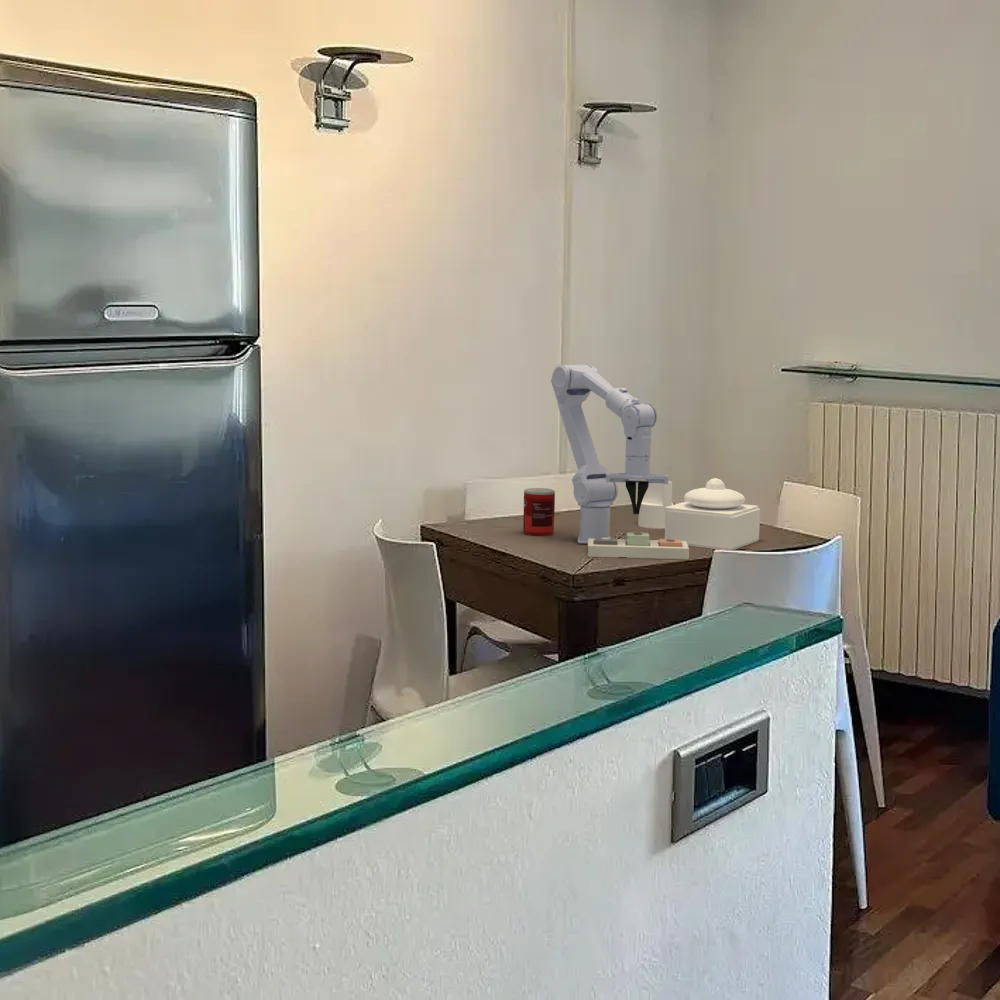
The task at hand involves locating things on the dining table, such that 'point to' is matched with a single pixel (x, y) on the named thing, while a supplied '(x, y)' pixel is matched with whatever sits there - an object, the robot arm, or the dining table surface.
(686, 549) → the keypad housing
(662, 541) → the key terracotta
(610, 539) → the key charcoal
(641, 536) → the key sage
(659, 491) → the cylinder with rectangular tab
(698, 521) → the white block with dome
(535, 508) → the canned food
